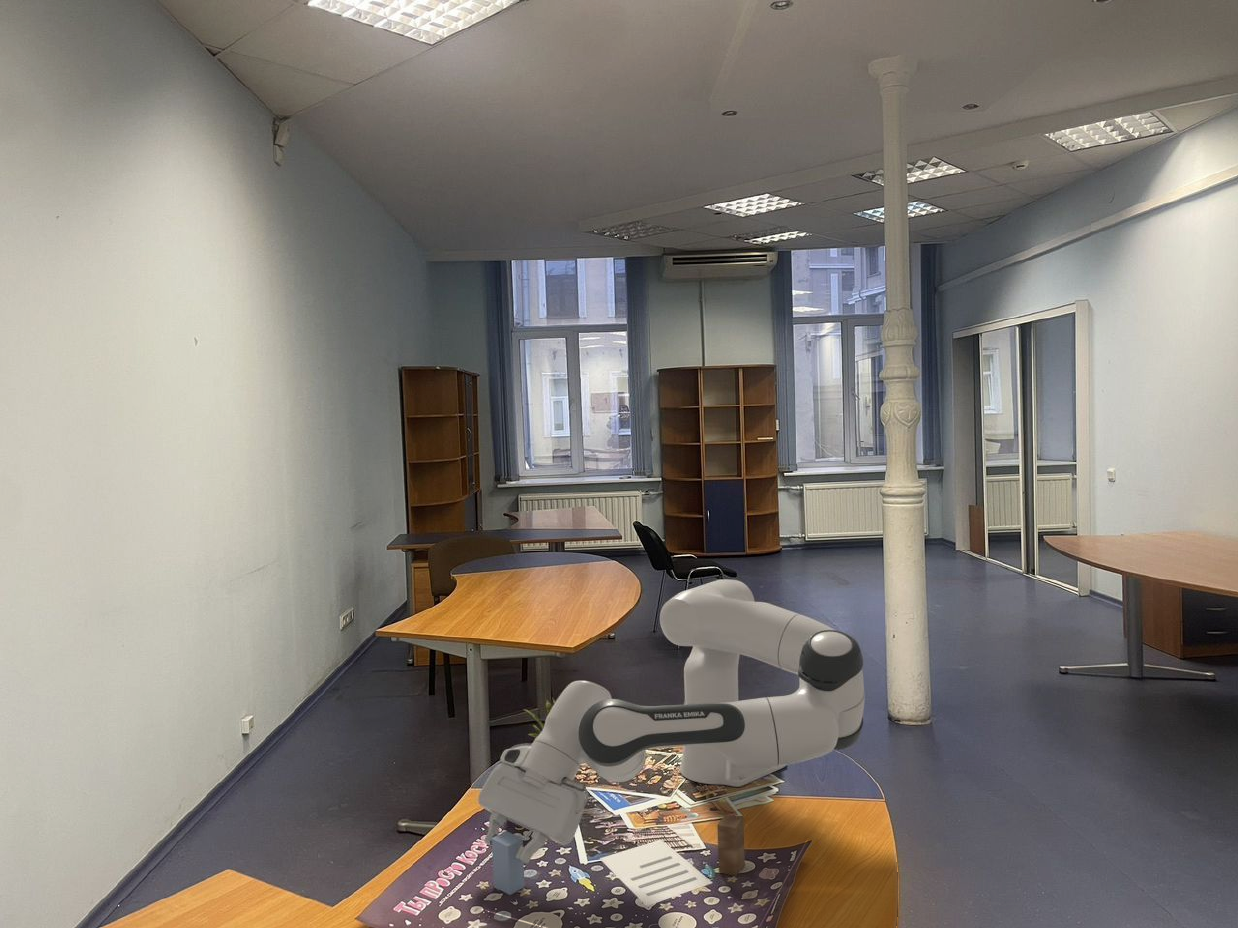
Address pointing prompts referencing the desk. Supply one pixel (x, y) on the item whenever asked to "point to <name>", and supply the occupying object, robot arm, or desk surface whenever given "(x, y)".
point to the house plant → (548, 708)
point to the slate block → (507, 863)
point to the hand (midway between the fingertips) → (504, 852)
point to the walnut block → (731, 844)
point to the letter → (655, 872)
